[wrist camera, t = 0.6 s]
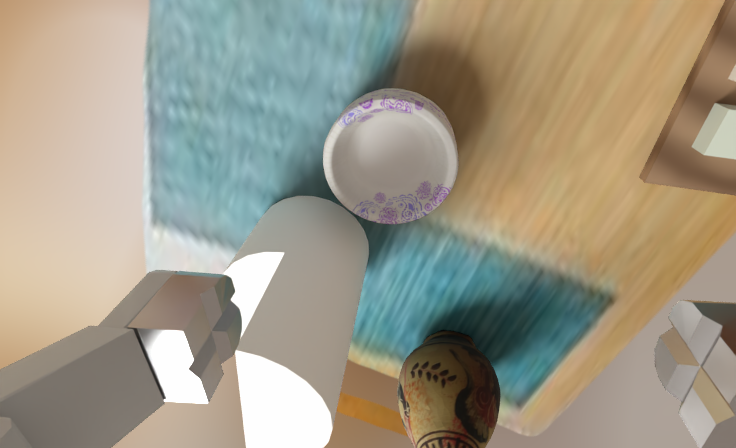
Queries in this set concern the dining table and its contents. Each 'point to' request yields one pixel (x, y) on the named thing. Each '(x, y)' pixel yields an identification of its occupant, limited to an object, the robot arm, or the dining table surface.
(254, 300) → the cylinder
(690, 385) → the robot arm
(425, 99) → the white purple floral bowl
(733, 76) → the cream tile
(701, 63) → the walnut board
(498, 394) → the ceramic jug
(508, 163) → the dining table surface
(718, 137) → the sage tile
